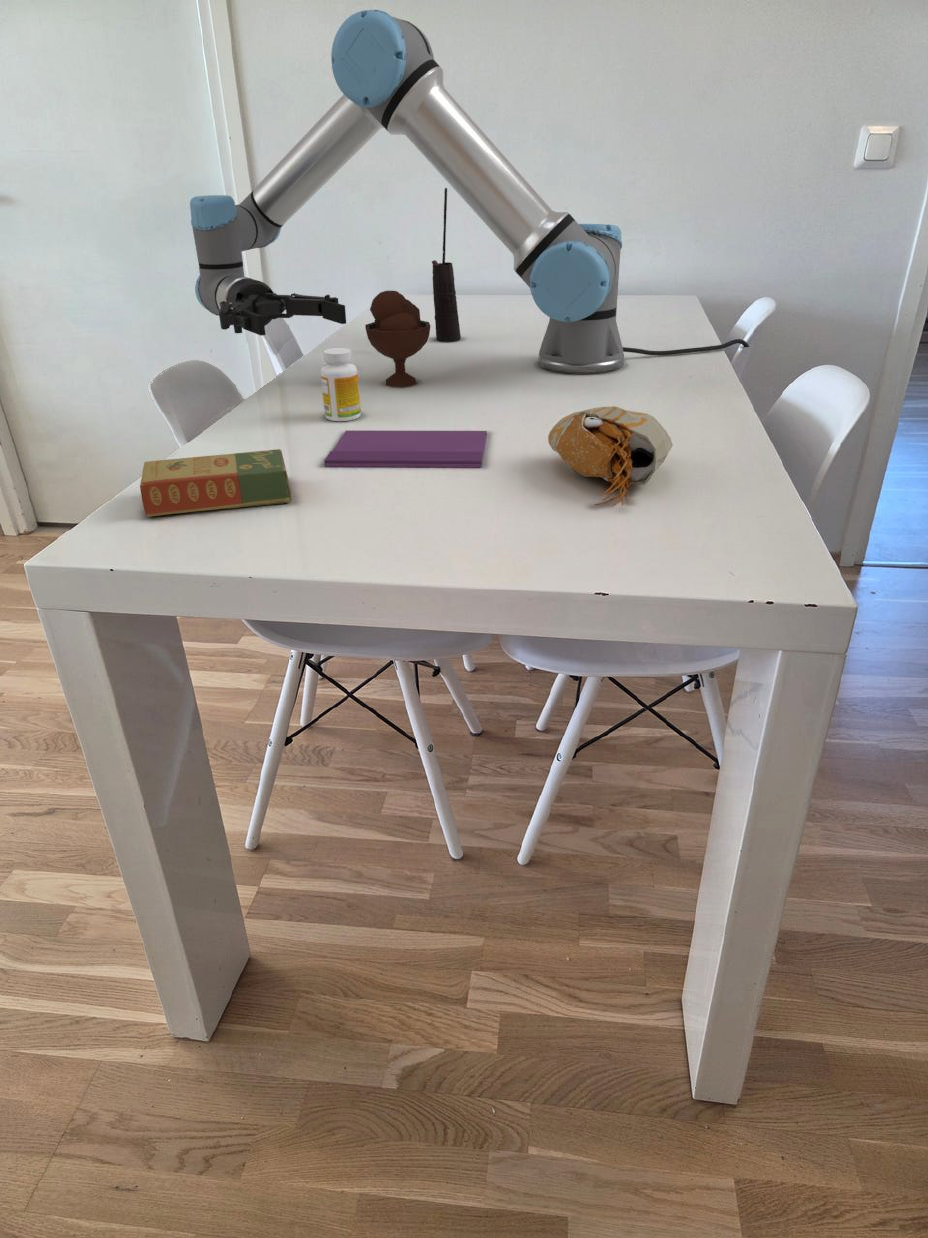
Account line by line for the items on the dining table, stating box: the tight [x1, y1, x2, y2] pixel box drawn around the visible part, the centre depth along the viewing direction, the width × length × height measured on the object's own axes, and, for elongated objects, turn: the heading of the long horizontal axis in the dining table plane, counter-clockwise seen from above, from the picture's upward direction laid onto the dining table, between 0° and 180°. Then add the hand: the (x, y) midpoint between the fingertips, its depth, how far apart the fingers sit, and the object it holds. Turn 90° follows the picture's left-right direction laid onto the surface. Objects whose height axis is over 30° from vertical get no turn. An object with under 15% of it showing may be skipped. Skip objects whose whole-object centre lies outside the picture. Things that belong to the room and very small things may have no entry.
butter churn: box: [431, 187, 462, 343], centre depth 167 cm, size 9×10×28 cm
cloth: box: [324, 430, 488, 468], centre depth 112 cm, size 20×14×1 cm
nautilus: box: [547, 405, 674, 507], centre depth 98 cm, size 8×22×15 cm
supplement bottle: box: [320, 347, 362, 422], centre depth 124 cm, size 5×5×10 cm
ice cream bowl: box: [365, 290, 432, 388], centre depth 139 cm, size 11×11×15 cm
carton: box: [139, 448, 293, 518], centre depth 97 cm, size 8×16×4 cm, turn 105°
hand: (304, 320), depth 127 cm, fingers open, 13 cm apart
